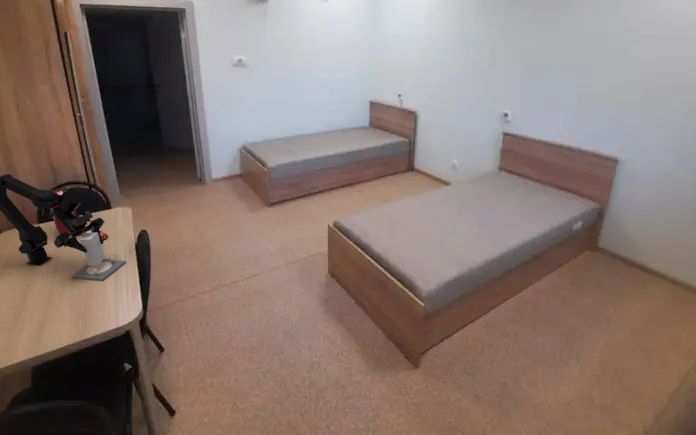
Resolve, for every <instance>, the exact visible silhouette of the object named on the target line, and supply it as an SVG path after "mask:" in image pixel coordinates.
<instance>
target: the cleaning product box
mask: <svg viewBox="0 0 696 435" xmlns="http://www.w3.org/2000/svg"><path fill="white" fill-rule="evenodd" d="M50 191H51V192H54V193H56V194H59V195H62V194H63V192H65V191H69V190H68V189H67V187H62V188H56V189H52V190H50ZM57 206H58V205H57ZM57 206H55V207H57ZM55 207H53V208H51V209H49V212H50V211H51V210H53V209H54V208H55ZM73 213H74V214H75V215H79V213H78V210H77V209H76V210H75V211H74V212H73ZM52 219H53V222H54V225H55V229H56V230H57V232H58V235H60V234H63V233H65V232H67V233H70V232H69V231H68V230H67V229H66V228H64V229H63V228H62V224H61V223H60V222H59V221H58V219H57V218H56V217H55V216H54V217H52ZM80 235H81V236H82V234H80ZM80 235H78V237H81V236H80ZM76 238H77V236H76Z"/></svg>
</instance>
